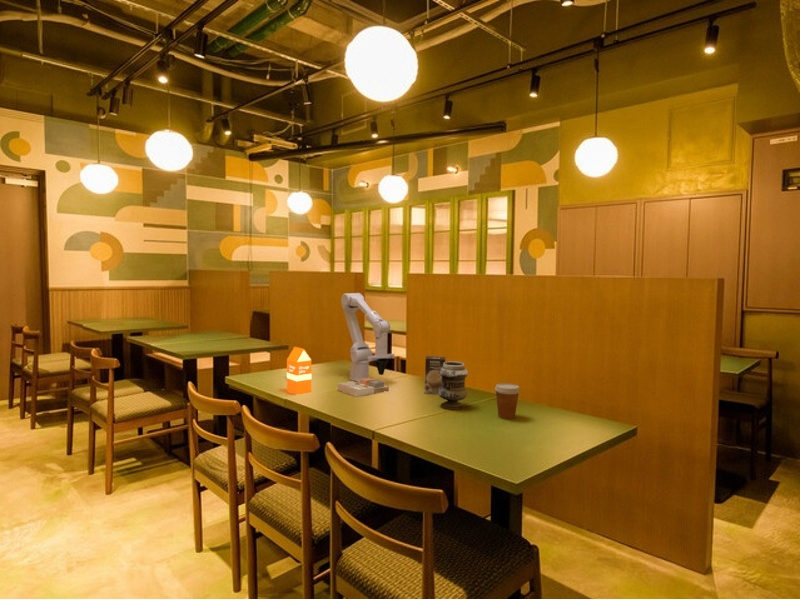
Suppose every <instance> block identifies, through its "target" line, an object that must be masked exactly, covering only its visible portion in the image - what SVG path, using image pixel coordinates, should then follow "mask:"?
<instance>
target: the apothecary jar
mask: <svg viewBox="0 0 800 600" xmlns="http://www.w3.org/2000/svg"><path fill="white" fill-rule="evenodd" d="M439 374H440V376H441V377H442V385H441V387H440V389H439V390H438V394H437V395H439V397H440V398H442V399H443V400H446V401H444V402H441V403H440V407H441V408H443V409H445V410H460V409H464V408H465V404H464V403H461V402H460V401H462V400H464V399H466V398H467V396H468V390H467V389H466V382H465V381H466V378H467V377H468V375H469V372H468V370H467V368H465V363H463V362H462V361H453V360H451V361H450V360H449V361H445V362H444V363H443V367H442V368H441V369H440V370H439Z"/></svg>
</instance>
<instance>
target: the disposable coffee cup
mask: <svg viewBox="0 0 800 600" xmlns="http://www.w3.org/2000/svg"><path fill="white" fill-rule="evenodd" d="M494 390H495V394H496V396H495V398H496V405H497V406H496V407H497V416H498V417H499V418H500V417H501V418H500V419H503V418H506V419H505V420H512V419H511V418H513V419H515V418H516V412H517V408H518V407H517V406H518V402H519V401H518V400H519V394H520V391H521V389H520V386H519V385H517V384H514V383H504V382H503V383H498V384H495V388H494Z"/></svg>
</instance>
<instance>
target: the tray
mask: <svg viewBox="0 0 800 600" xmlns="http://www.w3.org/2000/svg"><path fill="white" fill-rule="evenodd" d="M355 383H356V381H354V380H352V381H347V382H346V381H345V382H337V391H338V390H339V391H338V392H341V391H342V392H341V393H344V394H346V393H347V395H349V394H350V395H349V396H352V395H353V397H355V398H359V396H360V397H364V395H365V396H369V395H375V393H374V390H373V387H370V388H366V387H363V386H360V385H357V384H355Z"/></svg>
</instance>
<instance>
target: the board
mask: <svg viewBox="0 0 800 600" xmlns="http://www.w3.org/2000/svg"><path fill="white" fill-rule="evenodd" d="M355 384H357V385H360V386H363V387H366V388H370V387H371V386H369V385H364V384H361V383H360V382H355ZM373 390H374V394H380V393H379V392H381V393H385V392H384V391H386V392H389V391H390V386H388V385H385V384H384V387H379V388H374V387H373Z"/></svg>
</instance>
